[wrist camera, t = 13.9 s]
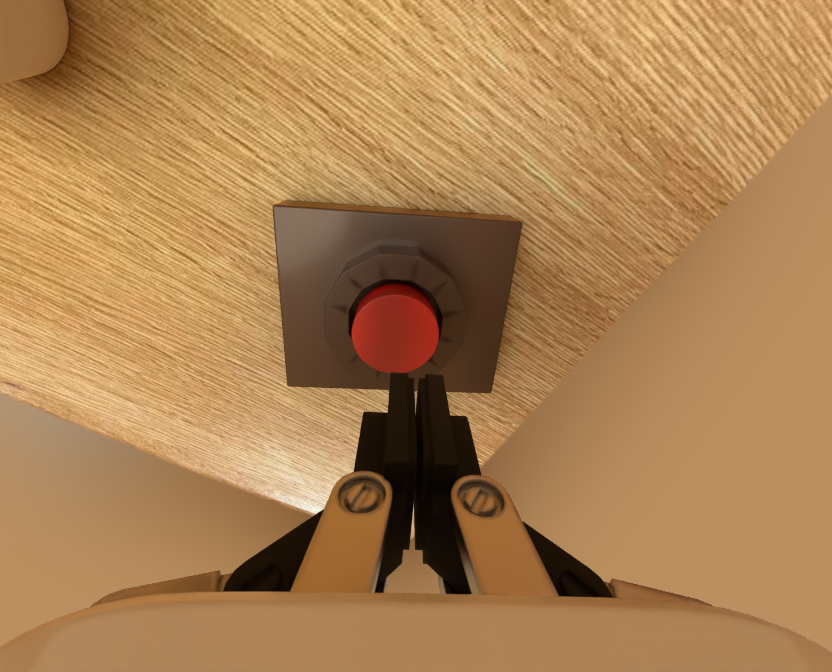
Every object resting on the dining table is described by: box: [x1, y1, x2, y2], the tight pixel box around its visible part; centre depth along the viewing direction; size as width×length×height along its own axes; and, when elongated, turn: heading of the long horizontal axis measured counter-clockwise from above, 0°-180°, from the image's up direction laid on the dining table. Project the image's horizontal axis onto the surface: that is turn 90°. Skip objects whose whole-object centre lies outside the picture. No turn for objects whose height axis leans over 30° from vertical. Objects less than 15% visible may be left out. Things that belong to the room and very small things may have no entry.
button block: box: [273, 200, 522, 393], centre depth 20 cm, size 12×10×4 cm
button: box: [352, 283, 439, 373], centre depth 18 cm, size 4×4×2 cm
